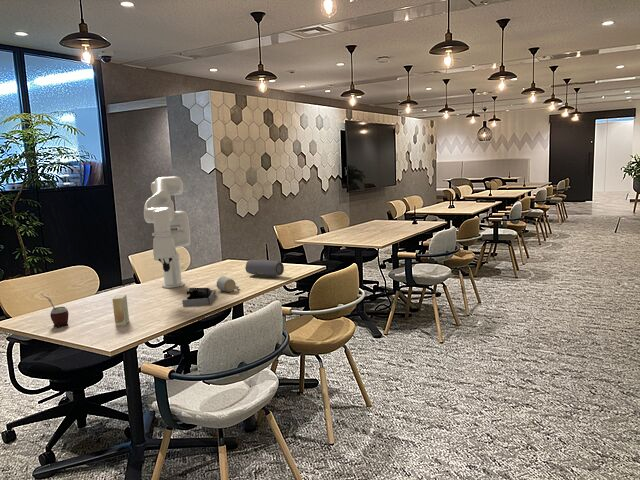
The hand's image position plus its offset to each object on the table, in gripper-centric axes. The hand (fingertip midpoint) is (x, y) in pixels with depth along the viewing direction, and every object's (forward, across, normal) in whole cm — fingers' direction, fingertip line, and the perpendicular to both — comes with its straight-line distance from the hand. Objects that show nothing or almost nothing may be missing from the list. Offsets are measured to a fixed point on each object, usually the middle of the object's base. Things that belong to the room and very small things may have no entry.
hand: (166, 271), depth 252 cm
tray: (+16, +15, -2) cm, 22 cm away
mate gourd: (+15, -40, -30) cm, 53 cm away
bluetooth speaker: (+18, +45, +47) cm, 68 cm away
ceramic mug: (+17, +27, +16) cm, 36 cm away
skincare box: (+15, -12, -34) cm, 39 cm away
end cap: (+16, +15, -3) cm, 22 cm away
